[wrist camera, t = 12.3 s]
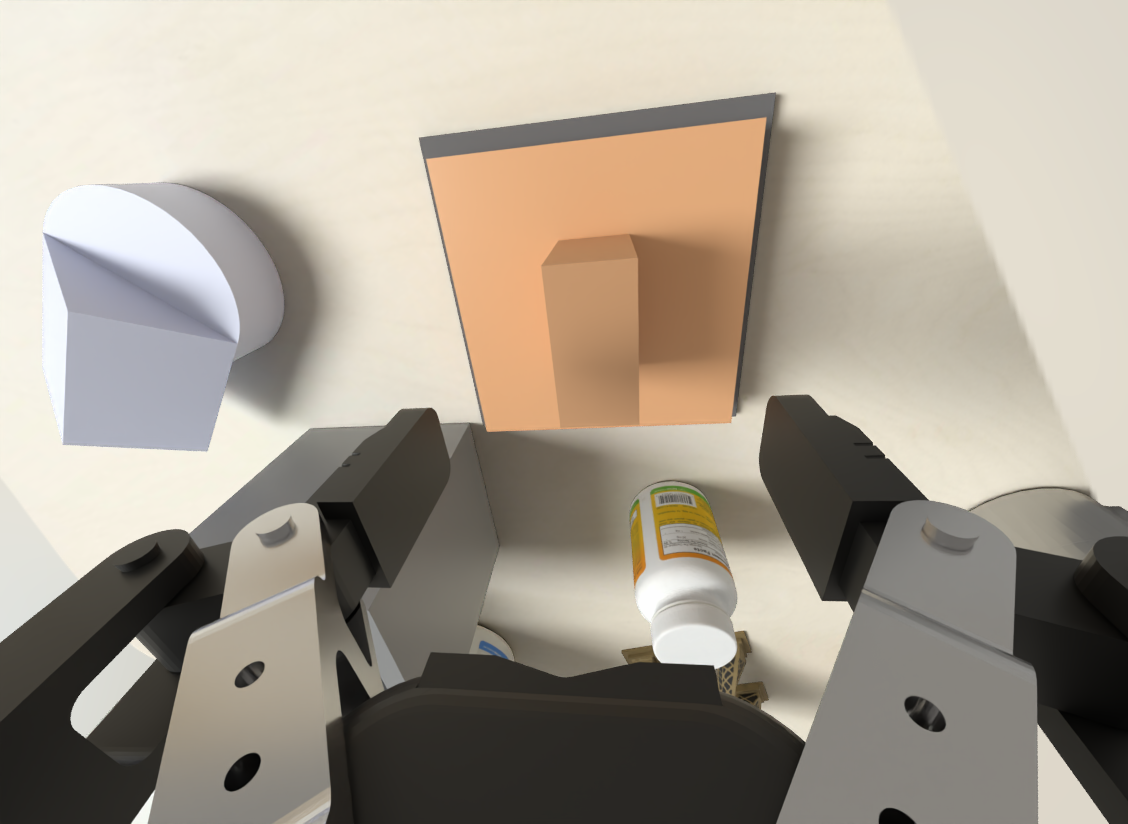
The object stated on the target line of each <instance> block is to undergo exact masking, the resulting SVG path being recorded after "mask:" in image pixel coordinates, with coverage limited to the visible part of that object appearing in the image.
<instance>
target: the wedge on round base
mask: <svg viewBox="0 0 1128 824" xmlns="http://www.w3.org/2000/svg"><path fill="white" fill-rule="evenodd" d="M284 305H285V304H284V293H283V288H282V283H281V280H280V277H279V274H278V271H277V269H276V267H275V265H274V263H273V260H272V258H271V257H270V255H269V253H268V252H267V250H266V248H265V247H264V245H263V244H262V243H261V241H260V240H259V238H258V237H257V236H256V235H255V233H254V232H253V231H252V230H251V229H250V228H249V227H248V225H247V224H246V223H245V222H244V221H242V220H241V219H240V218H239V217H238V216H237V215H236V214H235V213H234V212H232V211H231V210H230V209H229V208H227V207H226V206H225V205H223V204H222V203H220V202H219V201H217V200H215V199H214V198H212V197H210V196H208V195H206V194H204V193H202V192H200V191H198V190H195V189H193V188H190V187H187V186H183V185H178V184H173V183H136V184H101V185H84V186H78V187H74V188H71V189H68V190H67V191H65V192H63V193H61V194H60V195H59V196H58V197H57V198H56V199H55V200H54V201H53V202H52V203H51V205H50V207H49V208H48V210H47V213H46V216H45V219H44V226H43V372H44V376H45V379H46V383H47V387H48V391H49V394H50V398H51V402H52V406H53V409H54V413H55V417H56V421H57V424H58V428H59V432H60V436H61V439H62V443H63V445H80V446H101V447H123V448H144V449H166V450H187V451H208V448H209V444H210V440H211V437H212V433H213V430H214V426H215V423H216V419H217V416H218V412H219V408H220V405H221V401H222V398H223V394H224V391H225V387H226V384H227V380H228V377H229V373H230V369H231V366H232V362H233V361H235V360H237V359H239V358H241V357H243V356H245V355H247V354H249V353H251V352H253V351H255V350H256V349H258V348H260V347H262V346H264V345H265V344H267V343H268V342H269V341H270V340H271V339H272V338H274V336H275V335H276V333H277V332H278V330H279V328H280V326H281V323H282V320H283V316H284Z"/></svg>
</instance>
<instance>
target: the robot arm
mask: <svg viewBox="0 0 1128 824" xmlns="http://www.w3.org/2000/svg"><path fill="white" fill-rule="evenodd" d="M759 466H760V473H761V476H762V479H763V482H764V484H765V486H766V488H767V490H768V492H769V494H770V496H771V498H772V500H773V502H774V504H775V506H776V508H777V510H778V512H779V514H780V516H781V518H782V520H783V522H784V524H785V526H786V528H787V531H788V533H789V535H790V537H791V539H792V541H793V543H794V545H795V547H796V549H797V551H798V553H799V555H800V557H801V559H802V561H803V563H804V565H805V567H806V569H807V571H808V573H809V575H810V577H811V579H812V581H813V583H814V586H815V588H816V590H817V592H818V594H819V596H820V598H821V600H822V601H848V603H849V605H850V607H851V609H852V610H853V612H854V613H853V616H852V619H851V621H850V624H849V627H848V629H847V632H846V635H845V637H844V640H843V643H842V646H841V648H840V651H839V654H838V656H837V659H836V662H835V664H834V667H833V670H832V673H831V675H830V678H829V681H828V683H827V686H826V689H825V692H824V694H823V697H822V700H821V702H820V705H819V708H818V710H817V713H816V716H815V718H814V721H813V724H812V727H811V729H810V732H809V735H808V737H807V740H806V742H804V741H803V740H802V739H801V738H800V737H799V736H797V735H796V734H795V733H794V732H793V731H792V730H790V729H789V728H788V727H786V726H785V725H783V724H782V723H781V722H779V721H778V720H776V719H775V718H774V717H772V716H771V715H769V714H767V713H766V712H764V711H762V710H761V709H759V708H757V707H755V706H754V705H752V704H750V703H748V702H746V701H743V700H741V699H739V698H737V697H735V696H732V695H730V694H727V693H724V692H721V691H719V688H718V683H717V678H716V673H715V668H714V665H695V664H674V663H653V662H637V663H632V664H628V665H623V666H619V667H614V668H610V669H605V670H601V671H596V672H592V673H587V674H583V675H578V676H574V677H567V678H565V677H558V676H554V675H552V674H549V673H546V672H543V671H540V670H537V669H534V668H531V667H528V666H525V665H523V664H520V663H517V662H514V661H511V660H508V659H505V658H502V657H499V656H497V655H482V654H461V653H439V652H431V653H430V655H429V658H428V660H427V663H426V666H425V668H424V671H423V673H422V676H421V677H416V678H413V679H410V680H407V681H405V682H402V683H399V684H397V685H395V686H393V687H391V688H388V689H386V690H384V687H383V684H382V681H381V677H380V672H379V667H378V663H377V658H376V653H375V648H374V643H373V639H372V634H371V629H370V624H369V619H368V615H367V610H366V606H365V604H364V602H363V600H362V596H363V595H364V593H365V591H366V590H367V588H391V587H392V585H393V583H394V581H395V579H396V577H397V576H398V574H399V572H400V570H401V568H402V566H403V564H404V563H405V561H406V559H407V557H408V555H409V553H410V551H411V550H412V548H413V546H414V544H415V542H416V540H417V539H418V537H419V535H420V533H421V531H422V529H423V527H424V526H425V524H426V522H427V520H428V518H429V516H430V514H431V513H432V511H433V509H434V507H435V505H436V503H437V501H438V500H439V498H440V496H441V494H442V492H443V490H444V488H445V487H446V485H447V483H448V480H449V477H450V458H449V454H448V451H447V447H446V444H445V440H444V437H443V433H442V429H441V426H440V422H439V419H438V416H437V413H436V412H435V410H434V409H432V408H414V409H401V410H400V411H399V412H398V413H397V414H396V415H395V416H394V417H393V418H392V419H391V421H390V422H389V423H388V424H387V425H386V426H385V427H384V428H383V429H381V430H379V431H378V432H376V433H374V434H373V435H371V436H370V437H368V438H367V439H365V440H364V441H363V442H362V443H361V444H360V445H359V446H358V447H357V448H356V449H355V450H354V451H353V452H352V456H349V457H348V458H347V459H346V460H345V461H344V462H343V463H342V467H338V468H337V469H336V470H335V471H334V473H333V474H332V475H331V476H330V477H329V478H328V479H327V480H326V481H325V482H324V483H323V484H322V485H321V486H320V487H319V488H318V489H317V491H316V492H315V493H314V494H313V495H312V496H311V497H310V498H309V499H308V500H307V501H306V502H305V503H295V504H289V505H285V506H282V507H279V508H276V509H273V510H271V511H269V512H267V513H265V514H263V515H261V516H259V517H258V518H256V519H254V520H253V521H252V522H250V523H249V524H248V525H246V526H245V527H244V528H243V529H242V530H241V531H240V532H239V533H238V534H237V536H236V537H235V539H234V540H233V541H232V542H227V543H223V544H219V545H214V546H210V547H206V548H201V549H199V547H198V546H197V545H196V543H195V542H194V541H193V539H192V538H191V536H190V535H189V534H188V532H186V531H184V530H180V529H173V530H166V531H161V532H158V533H154V534H151V535H149V536H146V537H143V538H141V539H139V540H136V541H134V542H132V543H130V544H128V545H127V546H125V547H123V548H121V549H120V550H118V551H116V552H115V553H113V554H112V555H110V556H109V557H108V558H106V559H105V560H104V561H102V562H101V563H100V564H99V565H97V566H96V567H95V568H94V569H92V570H91V571H90V572H89V573H87V574H86V575H85V576H84V577H82V578H81V579H80V580H79V581H77V582H76V583H75V584H73V585H72V586H71V587H70V588H68V589H67V590H66V591H65V592H63V593H62V594H61V595H60V596H58V597H57V598H56V599H55V600H53V601H52V602H51V603H50V604H48V605H47V606H46V607H45V608H43V609H42V610H41V611H40V612H38V613H37V614H36V615H34V616H33V617H32V618H31V619H29V620H28V621H27V622H26V623H24V624H23V625H22V626H21V627H19V628H18V629H17V630H16V631H14V632H13V633H12V634H11V635H9V636H8V637H7V638H6V639H4V640H3V641H2V642H1V643H0V824H131V823H132V822H133V820H134V819H135V817H136V816H137V815H138V813H139V812H140V810H141V809H142V807H143V806H144V805H145V803H146V802H147V800H148V799H149V798H150V796H151V795H152V793H153V792H154V790H155V792H154V797H153V801H152V806H151V810H150V815H149V819H148V824H1038V764H1037V763H1038V760H1037V759H1038V756H1037V723H1038V725H1039V726H1040V728H1041V729H1042V730H1043V732H1044V733H1045V734H1046V736H1047V737H1048V739H1049V740H1050V742H1051V743H1052V744H1053V746H1054V747H1055V749H1056V750H1057V751H1058V753H1059V754H1060V756H1061V757H1062V758H1063V760H1064V761H1065V762H1066V764H1067V765H1068V767H1069V768H1070V770H1071V771H1072V772H1073V774H1074V775H1075V777H1076V778H1077V779H1078V781H1079V782H1080V784H1081V785H1082V786H1083V788H1084V789H1085V790H1086V792H1087V793H1088V795H1089V796H1090V797H1091V799H1092V800H1093V802H1094V803H1095V804H1096V806H1097V807H1098V809H1099V810H1100V811H1101V813H1102V814H1103V816H1104V817H1105V818H1106V820H1107V821H1108V823H1109V824H1128V511H1126V510H1125V509H1123V508H1122V507H1119V506H1116V507H1115V506H1112V507H1109V506H1103V505H1101V504H1100V503H1098V502H1097V501H1095V500H1094V499H1092V498H1091V497H1089V496H1087V495H1084V494H1082V493H1079V492H1076V491H1072V490H1065V489H1059V488H1057V489H1034V490H1027V491H1020V492H1017V493H1013V494H1009V495H1006V496H1002V497H999V498H997V499H994V500H992V501H989V502H987V503H984V504H982V505H980V506H978V507H977V508H975V509H973V510H971V511H967V510H964V509H961V508H959V507H956V506H952V505H949V504H945V503H940V502H935V501H929V500H928V499H927V498H926V497H925V496H924V495H923V494H922V493H921V492H920V491H919V490H918V489H917V488H916V487H915V486H914V485H913V483H912V482H911V481H910V480H909V479H908V478H907V477H906V476H905V475H904V474H903V473H902V472H901V471H900V470H899V469H898V468H897V467H896V466H895V465H894V464H893V463H892V462H891V461H890V460H889V459H888V458H887V459H885V455H884V454H883V453H882V452H881V451H880V450H879V448H878V447H877V446H873V442H872V441H871V440H870V439H869V438H868V437H867V436H866V435H865V434H864V433H863V432H862V431H861V430H860V429H859V428H858V427H856V426H854V425H852V424H851V423H849V422H847V421H845V420H843V419H841V418H839V417H838V416H828V415H827V414H826V412H825V411H824V410H823V409H822V408H821V407H820V406H819V405H818V404H817V402H816V401H815V400H814V399H813V398H812V397H811V396H810V395H785V396H771V397H770V399H769V401H768V403H767V408H766V414H765V421H764V427H763V433H762V440H761V446H760V453H759ZM135 637H136V638H137V639H138V640H139V641H140V642H141V643H142V644H143V645H144V646H145V647H146V648H147V649H148V650H149V651H150V652H151V653H152V654H153V655H154V656H155V657H156V658H157V659H156V660H155V662H153V664H152V665H151V666H150V667H149V668H148V669H147V671H145V673H144V674H143V675H142V676H141V677H140V678H139V679H138V681H137V682H136V683H135V684H134V685H133V686H132V687H131V689H129V691H128V692H127V693H126V694H125V695H124V696H123V697H122V698H121V700H120V701H119V702H118V703H117V704H116V705H115V706H114V707H113V709H112V710H111V711H110V712H109V713H108V714H107V715H106V716H105V718H104V719H103V720H102V721H101V722H100V723H99V724H98V725H97V727H96V728H95V729H94V730H93V731H92V732H91V733H90V734H89V736H88V737H87V738H84V737H83V736H81V734H79V733H78V732H77V731H75V730H74V729H73V727H72V725H71V721H70V717H71V711H72V708H73V705H74V703H75V701H76V700H77V698H78V696H79V695H80V694H81V692H82V691H83V690H84V689H85V688H86V687H87V686H88V685H89V684H90V682H91V681H92V680H93V679H94V678H95V677H96V676H97V675H98V674H99V673H100V672H101V671H102V670H103V669H104V668H105V667H106V666H107V665H108V664H109V663H110V662H111V661H112V660H113V659H114V658H115V657H116V656H117V655H118V654H119V653H120V652H121V651H122V650H123V649H124V648H125V647H126V646H127V645H128V644H129V643H130V642H131V641H132V640H133V639H134V638H135Z"/></svg>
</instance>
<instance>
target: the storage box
mask: <svg viewBox="0 0 1128 824" xmlns="http://www.w3.org/2000/svg"><path fill="white" fill-rule="evenodd" d="M440 426H441V429H442V433H443V437H444V440H445V444H446V447H447V451H448V454H449V458H450V477H449V480H448V483H447V485H446V487H445V488H444V490H443V492H442V494H441V496H440V498H439V500H438V501H437V503H436V505H435V507H434V509H433V511H432V513H431V514H430V516H429V518H428V520H427V522H426V524H425V526H424V527H423V529H422V531H421V533H420V535H419V537H418V539H417V540H416V542H415V544H414V546H413V548H412V550H411V551H410V553H409V555H408V557H407V559H406V561H405V563H404V564H403V566H402V568H401V570H400V572H399V574H398V576H397V577H396V579H395V581H394V583H393V585H392V587H391V588H367V590H366V591H365V593H364V595H363V596H362V600H363V602H364V604H365V606H366V610H367V615H368V619H369V624H370V629H371V634H372V639H373V643H374V648H375V653H376V658H377V663H378V667H379V672H380V677H381V681H382V684H383V687H384V690H386V689H388V688H391V687H393V686H395V685H397V684H399V683H402V682H405V681H407V680H410V679H413V678H416V677H421V676H422V673H423V671H424V668H425V666H426V663H427V660H428V658H429V655H430V653H431V652H439V653H461V654H469V652H470V648H471V645H472V641H473V638H474V634H475V631H476V627H477V624H478V620H479V617H480V613H481V610H482V606H483V602H484V599H485V595H486V592H487V588H488V585H489V581H490V578H491V574H492V571H493V567H494V564H495V560H496V557H497V553H498V550H499V542H498V538H497V534H496V530H495V526H494V522H493V518H492V514H491V509H490V505H489V501H488V497H487V493H486V489H485V485H484V481H483V476H482V472H481V468H480V464H479V460H478V456H477V452H476V447H475V443H474V439H473V435H472V431H471V427H470V423H453V424H440ZM384 427H385V426H373V427H346V428H320V429H309V430H308V431H307V432H305V433H304V434H303V435H302V436H301V437H300V438H299V439H297V440H296V441H295V442H294V443H293V444H292V445H291V446H289V447H288V448H287V449H286V450H285V451H284V452H283V453H281V454H280V455H279V456H278V457H277V458H276V459H274V460H273V461H272V462H271V463H270V464H269V465H268V466H266V467H265V468H264V469H263V470H262V471H261V472H260V473H258V474H257V475H256V476H255V477H254V478H253V479H252V480H250V481H249V482H248V483H247V484H246V485H245V486H244V487H242V488H241V489H240V490H239V491H238V492H237V493H235V494H234V495H233V496H232V497H231V498H230V499H229V500H227V501H226V502H225V503H224V504H223V505H222V506H221V507H219V508H218V509H217V510H216V511H215V512H214V513H213V514H211V515H210V516H209V517H208V518H207V519H206V520H205V521H203V522H202V523H201V524H200V525H199V526H198V527H197V528H195V529H194V530H193V531H192V532H191V533H190V534H189V535H190V536H191V538H192V539H193V541H194V542H195V543H196V545H197V546H198V547H199V549H201V548H206V547H210V546H214V545H219V544H223V543H227V542H232V541H233V540H234V539H235V537H236V536H237V534H238V533H239V532H240V531H241V530H242V529H243V528H244V527H245V526H246V525H248V524H249V523H250V522H252V521H253V520H254V519H256V518H258V517H259V516H261V515H263V514H265V513H267V512H269V511H271V510H273V509H276V508H279V507H282V506H285V505H289V504H295V503H305V502H306V501H307V500H308V499H309V498H310V497H311V496H312V495H313V494H314V493H315V492H316V491H317V489H318V488H319V487H320V486H321V485H322V484H323V483H324V482H325V481H326V480H327V479H328V478H329V477H330V476H331V475H332V474H333V473H334V471H335V470H336V469H337V468H338V467H342V463H343V462H344V461H345V460H346V459H347V458H348V457H349V456H352V452H353V451H354V450H355V449H356V448H357V447H358V446H359V445H360V444H361V443H362V442H363V441H364V440H365V439H367V438H368V437H370V436H371V435H373V434H374V433H376V432H378V431H379V430H381V429H383V428H384Z"/></svg>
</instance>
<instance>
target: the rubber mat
mask: <svg viewBox="0 0 1128 824" xmlns="http://www.w3.org/2000/svg"><path fill="white" fill-rule="evenodd" d="M775 96H776V93H768V94H760V95H753V96H745V97H737V98H729V99H721V100H713V101H705V102H697V103H689V104H682V105H674V106H666V107H658V108H650V109H642V110H634V111H626V112H618V113H610V114H603V115H595V116H587V117H579V118H571V119H563V120H555V121H547V122H539V123H532V124H524V125H516V126H508V127H500V128H492V129H484V130H476V131H468V132H461V133H453V134H445V135H437V136H429V137H421V138H419V141H420V146H421V150H422V154H423V159H424V163H425V168H426V172H427V177H428V181H429V186H430V190H431V195H432V199H433V204H434V208H435V212H436V217H437V221H438V226H439V230H440V235H441V239H442V244H443V248H444V253H445V257H446V262H447V266H448V270H449V275H450V279H451V284H452V288H453V293H454V297H455V302H456V306H457V311H458V315H459V320H460V324H461V328H462V333H463V337H464V342H465V346H466V351H467V355H468V360H469V364H470V369H471V373H472V378H473V382H474V386H475V391H476V395H477V400H478V404H479V409H480V413H481V418H482V422H483V426H486V425H485V421H484V416H483V412H482V407H481V403H480V399H479V394H478V390H477V385H476V381H475V376H474V372H473V367H472V363H471V358H470V354H469V349H468V345H467V340H466V336H465V331H464V327H463V322H462V318H461V313H460V309H459V304H458V300H457V296H456V291H455V287H454V282H453V278H452V273H451V269H450V264H449V260H448V255H447V251H446V246H445V242H444V237H443V233H442V228H441V224H440V219H439V215H438V210H437V206H436V202H435V197H434V193H433V188H432V184H431V179H430V175H429V170H428V166H427V161H426V159H431V158H439V157H447V156H455V155H463V154H471V153H480V152H488V151H496V150H504V149H512V148H520V147H529V146H537V145H545V144H553V143H561V142H569V141H578V140H586V139H594V138H602V137H610V136H618V135H627V134H635V133H643V132H651V131H659V130H667V129H676V128H684V127H692V126H700V125H708V124H716V123H724V122H733V121H741V120H749V119H757V118H765V117H767V118H766V126H765V135H764V144H763V152H762V161H761V169H760V178H759V187H758V195H757V204H756V212H755V221H754V230H753V238H752V247H751V256H750V264H749V273H748V281H747V290H746V299H745V307H744V316H743V324H742V333H741V342H740V350H739V359H738V368H737V376H736V385H735V393H734V402H733V411H732V417H733V416H736V410H737V402H738V394H739V386H740V378H741V370H742V362H743V354H744V346H745V338H746V330H747V321H748V313H749V305H750V297H751V289H752V281H753V273H754V265H755V257H756V249H757V241H758V233H759V225H760V217H761V209H762V200H763V192H764V184H765V176H766V168H767V160H768V152H769V144H770V136H771V128H772V120H773V112H774V104H775Z"/></svg>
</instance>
